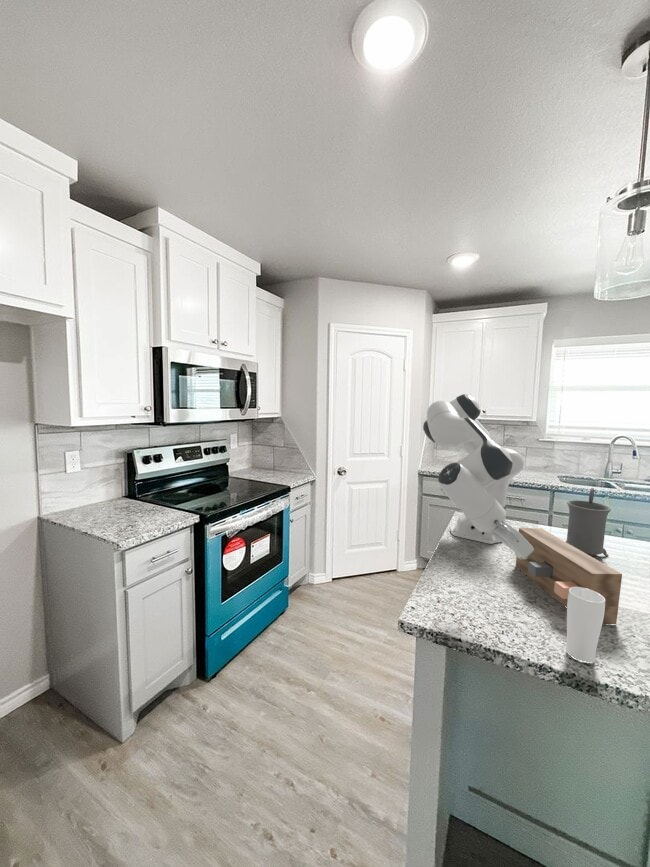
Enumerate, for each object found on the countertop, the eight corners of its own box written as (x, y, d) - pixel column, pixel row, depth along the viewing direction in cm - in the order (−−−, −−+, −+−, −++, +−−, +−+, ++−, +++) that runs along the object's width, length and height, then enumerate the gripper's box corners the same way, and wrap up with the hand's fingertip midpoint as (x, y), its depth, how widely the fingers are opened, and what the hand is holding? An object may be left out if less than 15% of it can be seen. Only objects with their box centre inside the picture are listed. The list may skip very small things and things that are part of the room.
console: (586, 625, 94) (592, 573, 93) (515, 566, 127) (519, 527, 126) (616, 625, 95) (622, 574, 93) (537, 566, 128) (541, 528, 126)
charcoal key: (534, 576, 108) (535, 567, 108) (528, 571, 112) (528, 561, 112) (552, 577, 109) (553, 567, 108) (545, 571, 112) (546, 562, 112)
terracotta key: (562, 598, 96) (563, 588, 96) (553, 591, 100) (554, 581, 100) (582, 599, 97) (583, 588, 96) (573, 592, 100) (574, 581, 100)
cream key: (520, 559, 120) (521, 550, 120) (514, 554, 124) (515, 546, 124) (536, 559, 121) (537, 550, 120) (530, 555, 124) (531, 546, 124)
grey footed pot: (605, 567, 129) (613, 499, 127) (556, 554, 139) (563, 490, 137) (609, 552, 143) (617, 490, 141) (565, 541, 153) (571, 483, 151)
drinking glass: (588, 672, 78) (595, 605, 76) (555, 652, 84) (562, 590, 82) (604, 662, 81) (612, 598, 79) (572, 643, 87) (578, 584, 85)
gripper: (518, 520, 85) (554, 561, 86) (478, 497, 105) (508, 530, 107) (497, 538, 85) (534, 579, 87) (462, 511, 106) (492, 544, 107)
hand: (519, 552), depth 97 cm, fingers closed
